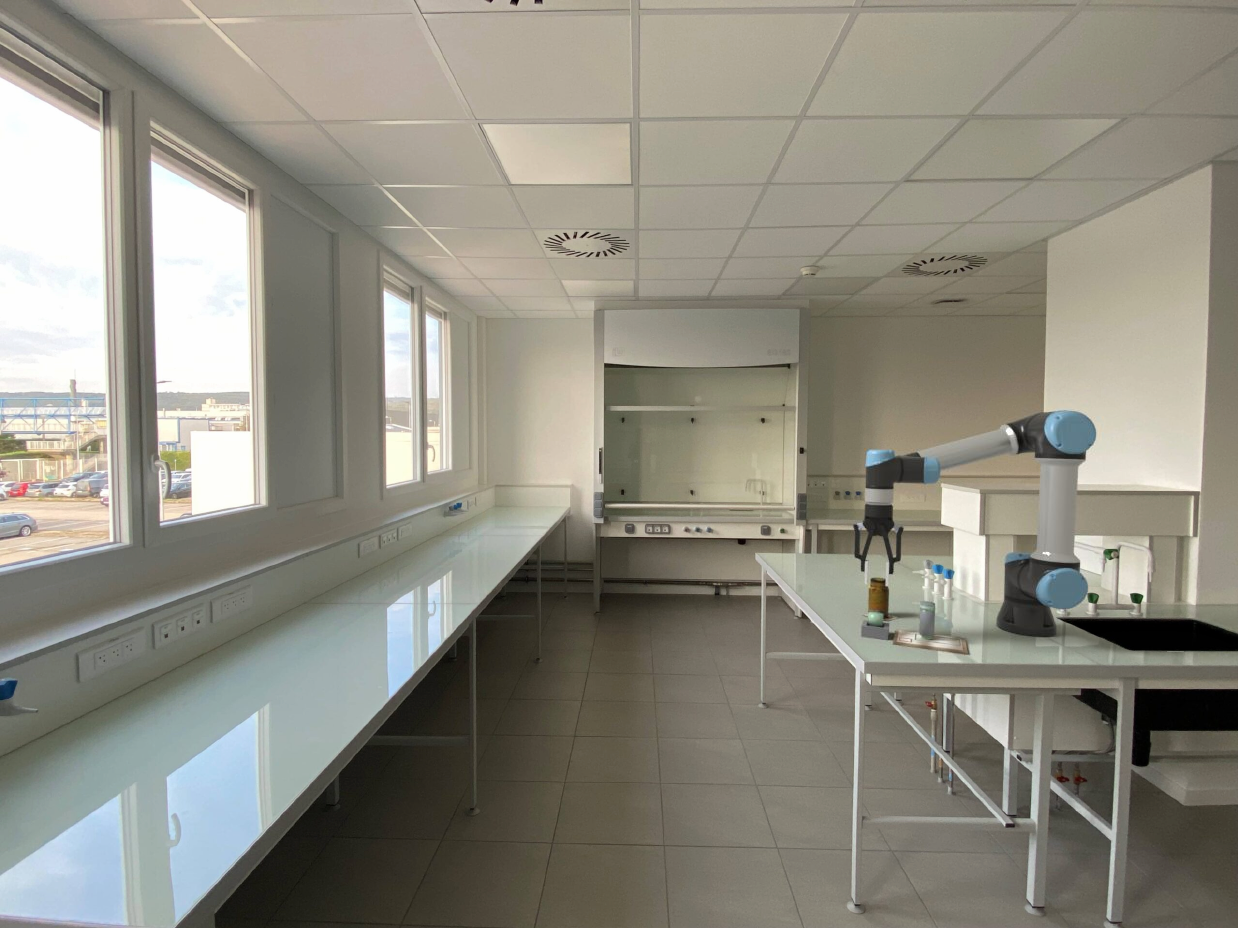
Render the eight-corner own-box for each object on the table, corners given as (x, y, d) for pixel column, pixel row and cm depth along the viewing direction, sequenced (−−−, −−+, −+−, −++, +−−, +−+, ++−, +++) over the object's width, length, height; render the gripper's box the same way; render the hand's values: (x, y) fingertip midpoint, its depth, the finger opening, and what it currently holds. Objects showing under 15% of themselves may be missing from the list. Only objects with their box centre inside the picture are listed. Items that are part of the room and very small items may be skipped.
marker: (934, 637, 179) (935, 602, 179) (934, 641, 176) (935, 605, 175) (919, 635, 181) (919, 600, 180) (918, 639, 177) (919, 603, 177)
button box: (889, 633, 185) (889, 623, 185) (887, 639, 178) (888, 629, 178) (863, 629, 188) (863, 619, 188) (861, 636, 182) (861, 625, 181)
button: (883, 622, 184) (883, 612, 184) (882, 626, 180) (882, 616, 180) (868, 621, 186) (869, 610, 186) (867, 624, 182) (867, 614, 182)
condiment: (873, 611, 208) (874, 575, 208) (899, 617, 202) (900, 580, 202) (862, 615, 204) (863, 578, 203) (887, 621, 197) (888, 583, 197)
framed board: (964, 639, 179) (964, 637, 179) (967, 654, 167) (967, 651, 167) (895, 630, 187) (895, 628, 187) (892, 644, 175) (893, 641, 175)
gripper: (913, 504, 181) (911, 585, 182) (847, 500, 189) (845, 578, 190) (913, 506, 175) (910, 590, 175) (844, 502, 182) (842, 583, 183)
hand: (876, 584), depth 183 cm, fingers open, 5 cm apart
